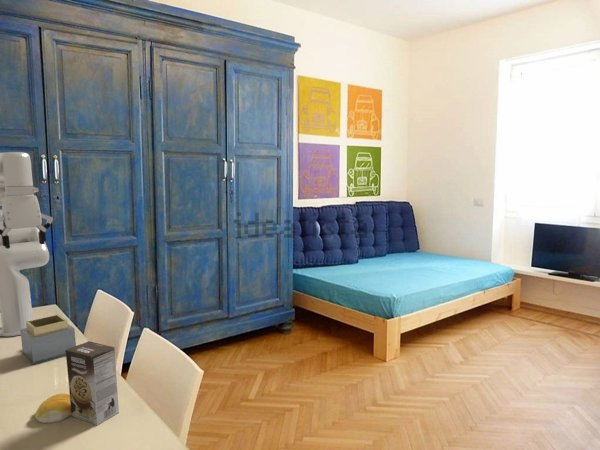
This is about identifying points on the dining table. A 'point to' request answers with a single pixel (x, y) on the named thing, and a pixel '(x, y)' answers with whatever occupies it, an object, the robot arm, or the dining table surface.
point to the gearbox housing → (47, 339)
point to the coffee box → (92, 382)
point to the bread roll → (54, 409)
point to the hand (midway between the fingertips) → (25, 246)
